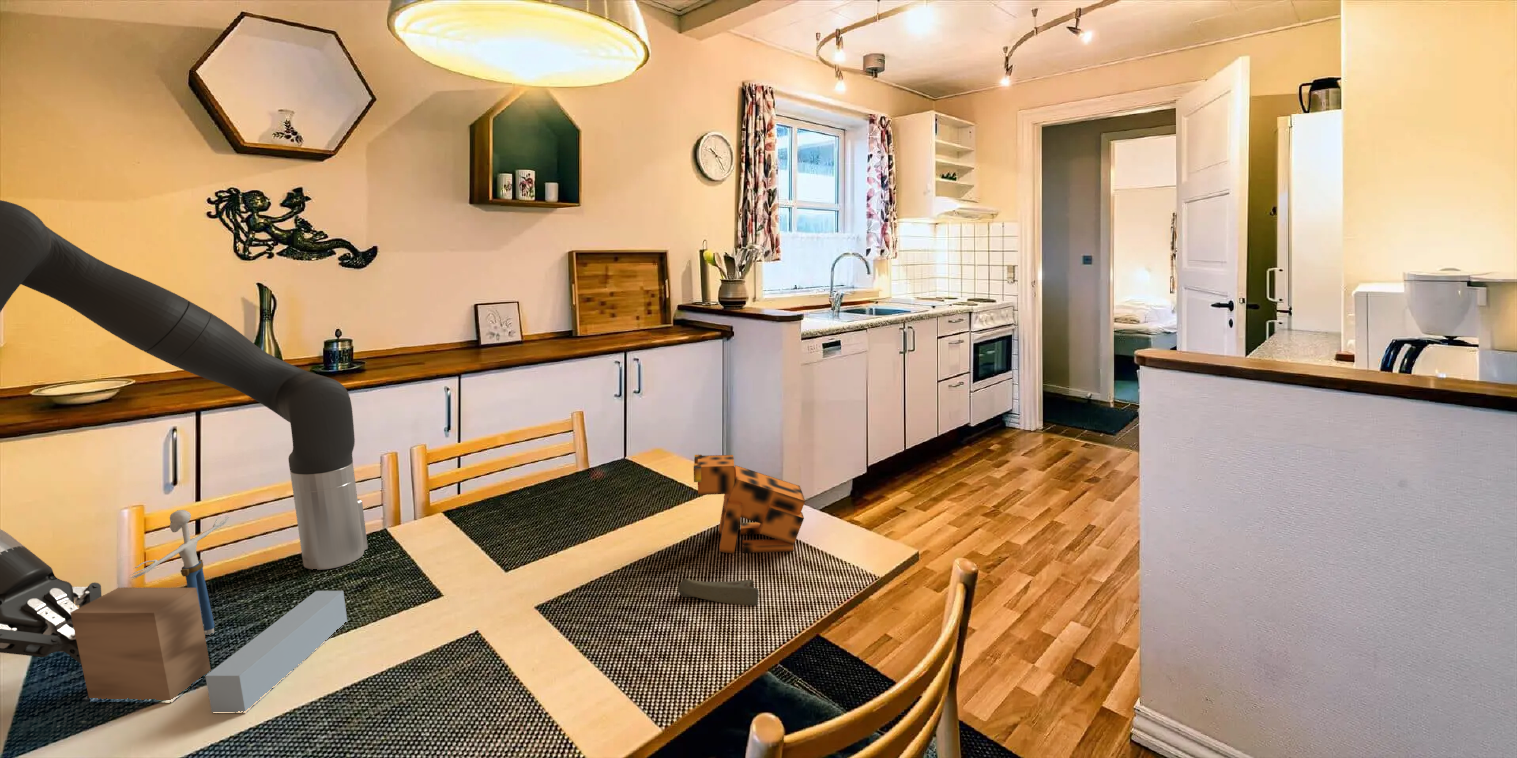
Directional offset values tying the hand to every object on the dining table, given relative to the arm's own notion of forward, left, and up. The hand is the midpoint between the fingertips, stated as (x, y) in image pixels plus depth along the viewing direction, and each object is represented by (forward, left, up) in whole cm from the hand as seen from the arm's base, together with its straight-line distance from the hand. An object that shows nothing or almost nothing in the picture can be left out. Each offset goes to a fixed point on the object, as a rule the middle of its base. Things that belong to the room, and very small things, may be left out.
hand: (104, 660), depth 84 cm
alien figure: (-10, 0, -4) cm, 11 cm away
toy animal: (-56, +71, -4) cm, 91 cm away
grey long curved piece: (-34, +71, -4) cm, 79 cm away
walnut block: (-1, +6, -4) cm, 7 cm away
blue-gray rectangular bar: (-8, +18, -4) cm, 20 cm away
